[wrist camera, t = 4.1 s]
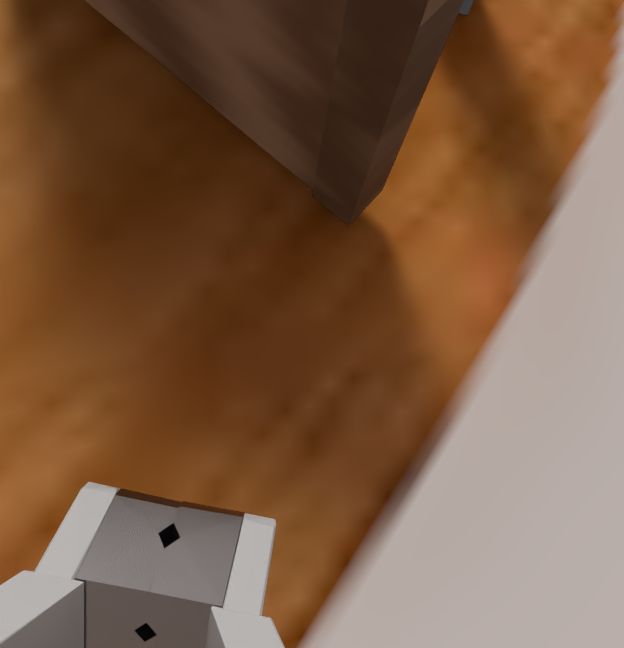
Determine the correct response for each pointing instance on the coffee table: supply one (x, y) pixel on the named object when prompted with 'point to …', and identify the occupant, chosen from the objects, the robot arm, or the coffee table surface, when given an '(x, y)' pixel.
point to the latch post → (466, 7)
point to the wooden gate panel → (303, 77)
